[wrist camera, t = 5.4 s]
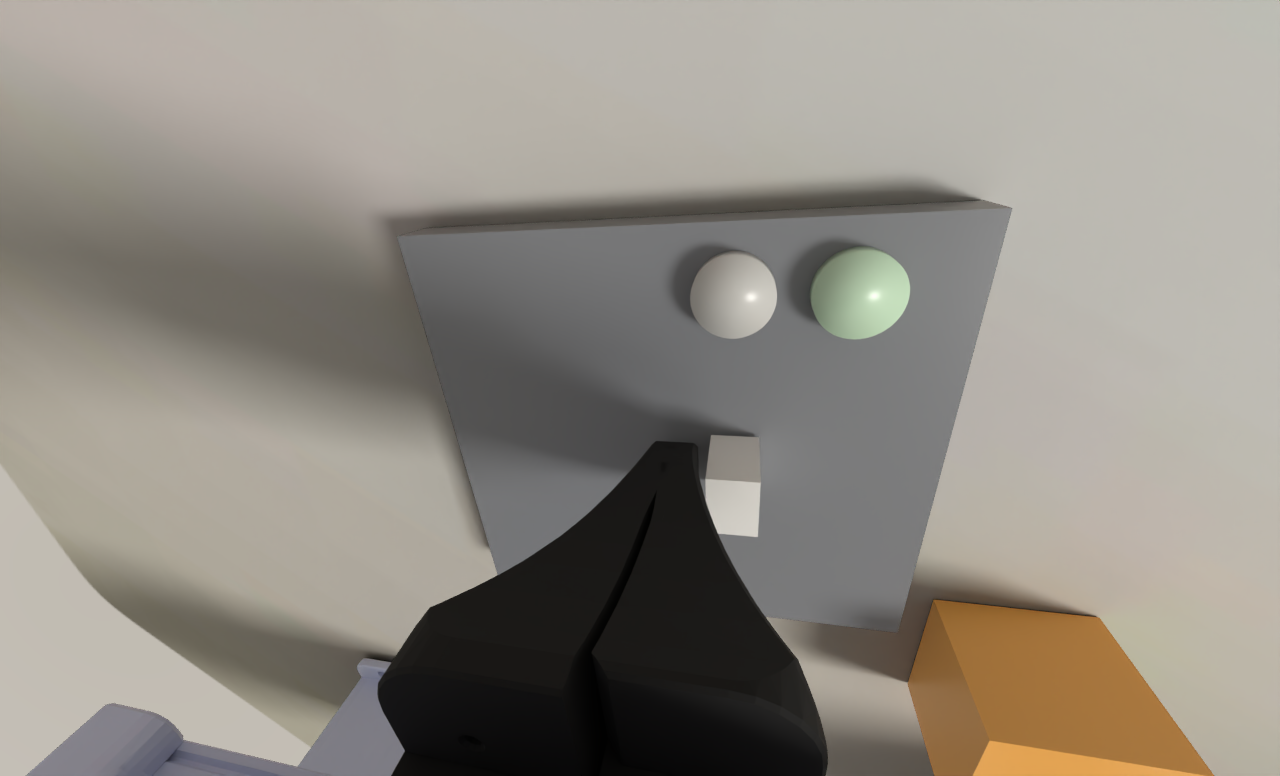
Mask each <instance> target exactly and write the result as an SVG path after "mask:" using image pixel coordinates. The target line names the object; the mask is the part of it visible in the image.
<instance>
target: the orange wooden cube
mask: <svg viewBox="0 0 1280 776" xmlns="http://www.w3.org/2000/svg"><path fill="white" fill-rule="evenodd" d="M908 687H909V690H910V694H911V697H912V701H913V704H914V707H915V711H916V714H917V718H918V721H919V725H920V728H921V732H922V735H923V738H924V742H925V745H926V749H927V752H928V756H929V759H930V763H931V766H932V770H933V773H934V776H1214V775H1213V774H1212V772H1211V771H1210V769H1209V768H1208V767H1207V765H1206V764H1205V762H1204V761H1203V760H1202V758H1201V757H1200V756H1199V754H1198V753H1197V751H1196V750H1195V749H1194V747H1193V746H1192V745H1191V743H1190V742H1189V740H1188V739H1187V738H1186V736H1185V735H1184V734H1183V732H1182V731H1181V729H1180V728H1179V727H1178V725H1177V724H1176V723H1175V721H1174V720H1173V718H1172V717H1171V716H1170V714H1169V713H1168V712H1167V710H1166V709H1165V707H1164V706H1163V705H1162V703H1161V702H1160V701H1159V699H1158V698H1157V696H1156V695H1155V694H1154V692H1153V691H1152V690H1151V688H1150V687H1149V685H1148V684H1147V683H1146V681H1145V680H1144V679H1143V677H1142V676H1141V674H1140V673H1139V672H1138V670H1137V669H1136V668H1135V666H1134V665H1133V663H1132V662H1131V661H1130V659H1129V658H1128V657H1127V655H1126V654H1125V652H1124V651H1123V650H1122V648H1121V647H1120V645H1119V644H1118V643H1117V641H1116V640H1115V639H1114V637H1113V636H1112V634H1111V633H1110V632H1109V630H1108V629H1107V628H1106V626H1105V625H1104V623H1103V622H1102V621H1101V619H1100V618H1098V617H1089V616H1080V615H1070V614H1061V613H1052V612H1043V611H1034V610H1025V609H1016V608H1007V607H997V606H988V605H979V604H970V603H961V602H952V601H943V600H933V603H932V606H931V610H930V613H929V616H928V619H927V623H926V626H925V629H924V632H923V636H922V639H921V642H920V645H919V649H918V652H917V655H916V658H915V662H914V665H913V668H912V671H911V674H910V678H909V681H908Z"/></svg>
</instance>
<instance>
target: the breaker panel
mask: <svg viewBox="0 0 1280 776" xmlns="http://www.w3.org/2000/svg"><path fill="white" fill-rule="evenodd" d="M1011 211H1012V208H1010V207H1007V206H1003V205H1000V204H996V203H992V202H989V201H985V200H979V201H959V202H939V203H919V204H899V205H879V206H859V207H839V208H818V209H798V210H778V211H758V212H738V213H718V214H698V215H678V216H658V217H638V218H617V219H597V220H577V221H557V222H537V223H517V224H497V225H477V226H457V227H437V228H424V229H421V230H417V231H414V232H410V233H407V234H404V235H400V236H397V239H398V242H399V246H400V249H401V252H402V256H403V259H404V262H405V266H406V269H407V272H408V276H409V279H410V282H411V286H412V289H413V292H414V296H415V299H416V303H417V306H418V309H419V313H420V316H421V319H422V323H423V326H424V329H425V333H426V336H427V339H428V343H429V346H430V349H431V353H432V356H433V359H434V363H435V366H436V369H437V373H438V376H439V380H440V383H441V386H442V390H443V393H444V396H445V400H446V403H447V406H448V410H449V413H450V416H451V420H452V423H453V426H454V430H455V433H456V436H457V440H458V443H459V446H460V450H461V453H462V457H463V460H464V463H465V467H466V470H467V473H468V477H469V480H470V483H471V487H472V490H473V493H474V497H475V500H476V503H477V507H478V510H479V513H480V517H481V520H482V524H483V527H484V530H485V534H486V537H487V540H488V544H489V547H490V550H491V554H492V557H493V560H494V564H495V567H496V570H497V574H498V575H499V574H501V573H503V572H505V571H507V570H508V569H510V568H512V567H513V566H515V565H517V564H519V563H520V562H522V561H524V560H525V559H527V558H528V557H530V556H531V555H533V554H534V553H536V552H537V551H539V550H540V549H542V548H543V547H545V546H546V545H548V544H549V543H551V542H552V541H554V540H555V539H557V538H558V537H559V536H561V535H562V534H563V533H565V532H566V531H567V530H568V529H570V528H571V527H572V526H574V525H575V524H576V523H577V522H578V521H580V520H581V519H582V518H583V517H584V516H585V515H586V514H588V513H589V512H590V511H591V510H592V509H593V508H594V507H595V506H596V505H597V504H598V503H599V502H600V501H601V500H602V499H604V498H605V497H606V496H607V495H608V494H609V493H610V492H611V491H612V490H613V489H614V488H615V487H616V485H617V484H618V483H619V482H620V481H621V480H622V479H623V478H624V477H625V476H626V475H627V474H628V472H629V471H630V470H631V469H632V468H633V467H634V466H635V464H636V463H637V462H638V461H639V460H640V458H641V457H642V456H643V455H644V454H645V452H646V451H647V450H648V449H649V447H650V446H651V445H652V444H653V443H654V442H655V441H667V442H687V443H694V444H696V445H697V446H698V459H699V478H700V482H701V486H702V490H703V493H704V497H705V500H706V487H705V478H706V470H707V462H708V454H709V447H710V439H711V435H723V436H744V437H759V446H760V476H761V487H760V506H759V524H758V537H750V536H739V535H728V534H718V535H719V537H720V540H721V542H722V544H723V546H724V548H725V550H726V552H727V554H728V556H729V558H730V560H731V562H732V564H733V566H734V568H735V569H736V571H737V573H738V575H739V576H740V578H741V580H742V581H743V583H744V584H745V586H746V588H747V589H748V591H749V593H750V594H751V596H752V598H753V599H754V601H755V603H756V604H757V606H758V607H759V608H760V610H761V611H762V613H763V614H764V616H766V617H774V618H782V619H790V620H798V621H806V622H814V623H822V624H830V625H838V626H846V627H854V628H862V629H870V630H878V631H886V632H894V633H898V630H899V626H900V623H901V619H902V615H903V611H904V608H905V604H906V600H907V597H908V593H909V589H910V585H911V582H912V578H913V574H914V571H915V567H916V563H917V560H918V556H919V552H920V548H921V545H922V541H923V537H924V534H925V530H926V526H927V522H928V519H929V515H930V511H931V508H932V504H933V500H934V497H935V493H936V489H937V485H938V482H939V478H940V474H941V471H942V467H943V463H944V459H945V456H946V452H947V448H948V445H949V441H950V437H951V434H952V430H953V426H954V422H955V419H956V415H957V411H958V408H959V404H960V400H961V396H962V393H963V389H964V385H965V382H966V378H967V374H968V370H969V367H970V363H971V359H972V356H973V352H974V348H975V345H976V341H977V337H978V333H979V330H980V326H981V322H982V319H983V315H984V311H985V307H986V304H987V300H988V296H989V293H990V289H991V285H992V282H993V278H994V274H995V270H996V267H997V263H998V259H999V256H1000V252H1001V248H1002V244H1003V241H1004V237H1005V233H1006V230H1007V226H1008V222H1009V219H1010V215H1011Z"/></svg>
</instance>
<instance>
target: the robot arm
mask: <svg viewBox="0 0 1280 776" xmlns="http://www.w3.org/2000/svg"><path fill="white" fill-rule="evenodd" d="M357 670H358V672H359V674H360V676H361V677H362V678H361V679H360V680H359V681H358V683H357V684H356V686H355V687H354V688H353V690H352V691H351V693H350V694H349V695H348V697H347V698H346V700H345V701H344V702H343V704H342V705H341V707H340V708H339V709H338V711H337V712H336V714H335V715H334V716H333V718H332V719H331V721H330V722H329V723H328V725H327V726H326V728H325V729H324V730H323V732H322V733H321V735H320V736H319V737H318V739H317V740H316V742H315V743H314V744H313V746H312V747H311V749H310V750H309V751H308V753H307V754H306V756H305V757H304V759H303V760H302V761H301V763H300V764H299V765H298V767H296V766H292V765H287V764H283V763H279V762H275V761H270V760H266V759H262V758H258V757H254V756H249V755H245V754H240V753H237V752H232V751H228V750H224V749H219V748H215V747H211V746H207V745H202V744H199V743H194V742H190V741H186V740H183V735H182V734H181V732H180V731H179V730H178V729H177V728H176V727H175V726H174V724H172V723H171V722H170V721H169V720H168V719H166V718H164V717H162V716H161V715H159V714H156V713H153V712H150V711H145V710H141V709H137V708H133V707H128V706H124V705H119V704H114V703H112V704H107V705H105V706H104V707H103V708H102V709H100V710H99V711H98V712H97V713H96V714H95V715H94V716H92V717H91V718H90V719H89V720H88V721H87V722H86V723H85V724H84V725H82V726H81V727H80V728H79V729H78V730H77V731H76V732H75V733H73V734H72V735H71V736H70V737H69V738H68V739H67V740H65V741H64V742H63V743H62V744H61V745H60V746H59V747H57V748H56V749H55V750H54V751H53V752H52V753H51V754H50V755H48V756H47V757H46V758H45V759H44V760H43V761H42V762H41V763H39V764H38V765H37V766H36V767H35V768H34V769H33V770H32V771H30V773H28V774H27V775H26V776H825V775H826V770H827V765H828V754H827V745H826V741H825V736H824V732H823V728H822V724H821V721H820V717H819V714H818V711H817V708H816V705H815V702H814V699H813V697H812V694H811V691H810V689H809V686H808V683H807V681H806V679H805V676H804V674H803V671H802V669H801V666H800V664H799V661H798V659H797V658H796V657H795V655H794V654H793V653H792V652H791V650H790V649H789V648H788V647H787V645H786V644H785V643H784V642H783V640H782V639H781V638H780V636H779V635H778V634H777V632H776V631H775V630H774V628H773V627H772V626H771V624H770V623H769V621H768V620H767V619H766V617H765V616H764V614H763V613H762V611H761V610H760V608H759V607H758V606H757V604H756V603H755V601H754V599H753V598H752V596H751V594H750V593H749V591H748V589H747V588H746V586H745V584H744V583H743V581H742V580H741V578H740V576H739V575H738V573H737V571H736V569H735V568H734V566H733V564H732V562H731V560H730V558H729V556H728V554H727V552H726V550H725V548H724V546H723V544H722V542H721V540H720V537H719V535H718V533H717V530H716V528H715V525H714V523H713V520H712V518H711V515H710V512H709V509H708V506H707V503H706V500H705V497H704V493H703V490H702V486H701V482H700V478H699V459H698V446H697V445H696V444H694V443H687V442H667V441H655V442H654V443H653V444H652V445H651V446H650V447H649V449H648V450H647V451H646V452H645V454H644V455H643V456H642V457H641V458H640V460H639V461H638V462H637V463H636V464H635V466H634V467H633V468H632V469H631V470H630V471H629V472H628V474H627V475H626V476H625V477H624V478H623V479H622V480H621V481H620V482H619V483H618V484H617V485H616V487H615V488H614V489H613V490H612V491H611V492H610V493H609V494H608V495H607V496H606V497H605V498H604V499H602V500H601V501H600V502H599V503H598V504H597V505H596V506H595V507H594V508H593V509H592V510H591V511H590V512H589V513H588V514H586V515H585V516H584V517H583V518H582V519H581V520H580V521H578V522H577V523H576V524H575V525H574V526H572V527H571V528H570V529H568V530H567V531H566V532H565V533H563V534H562V535H561V536H559V537H558V538H557V539H555V540H554V541H552V542H551V543H549V544H548V545H546V546H545V547H543V548H542V549H540V550H539V551H537V552H536V553H534V554H533V555H531V556H530V557H528V558H527V559H525V560H524V561H522V562H520V563H519V564H517V565H515V566H513V567H512V568H510V569H508V570H507V571H505V572H503V573H501V574H499V575H497V576H495V577H494V578H492V579H490V580H488V581H486V582H484V583H482V584H480V585H478V586H476V587H474V588H472V589H470V590H468V591H466V592H463V593H461V594H459V595H457V596H455V597H453V598H450V599H448V600H446V601H444V602H442V603H440V604H437V605H435V606H433V607H430V608H429V609H428V611H427V612H426V613H425V615H424V616H423V617H422V619H421V620H420V621H419V623H418V624H417V625H416V626H415V628H414V629H413V631H412V632H411V634H410V635H409V637H408V638H407V640H406V641H405V643H404V644H403V646H402V648H401V649H400V651H399V652H398V654H397V655H396V657H395V658H394V660H393V661H392V662H386V661H380V660H375V659H369V658H364V659H362V660H361V661H360V663H359V664H358V665H357Z"/></svg>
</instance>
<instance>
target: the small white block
mask: <svg viewBox="0 0 1280 776" xmlns="http://www.w3.org/2000/svg"><path fill="white" fill-rule="evenodd" d="M705 487H706V503H707V506H708V509H709V512H710V515H711V518H712V520H713V523H714V525H715V528H716V530H717V533H718V534H728V535H739V536H750V537H758V524H759V506H760V487H761V476H760V446H759V437H744V436H723V435H711V439H710V447H709V454H708V462H707V470H706V478H705Z"/></svg>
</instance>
